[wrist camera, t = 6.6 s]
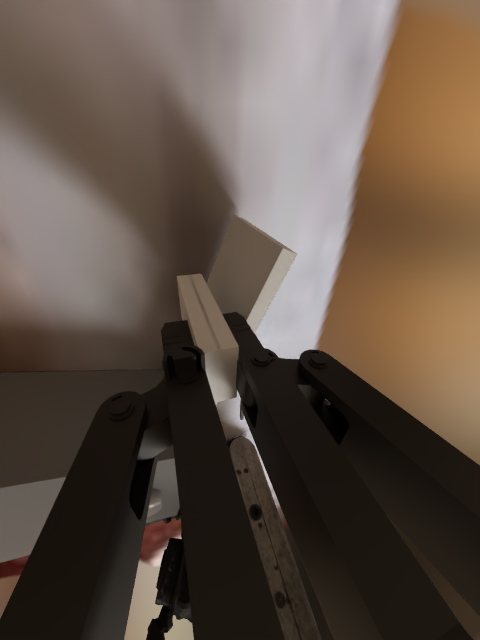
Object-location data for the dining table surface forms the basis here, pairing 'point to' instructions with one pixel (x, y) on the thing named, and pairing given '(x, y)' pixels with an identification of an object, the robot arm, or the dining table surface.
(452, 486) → the robot arm
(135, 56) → the dining table surface
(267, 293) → the side door
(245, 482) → the vintage camera
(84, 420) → the cabinet with round knob
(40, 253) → the dining table surface
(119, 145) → the dining table surface
